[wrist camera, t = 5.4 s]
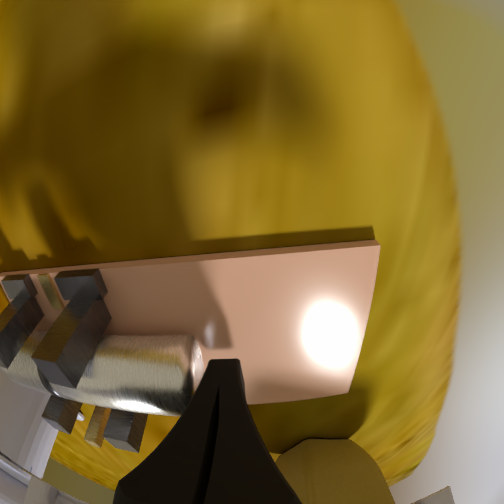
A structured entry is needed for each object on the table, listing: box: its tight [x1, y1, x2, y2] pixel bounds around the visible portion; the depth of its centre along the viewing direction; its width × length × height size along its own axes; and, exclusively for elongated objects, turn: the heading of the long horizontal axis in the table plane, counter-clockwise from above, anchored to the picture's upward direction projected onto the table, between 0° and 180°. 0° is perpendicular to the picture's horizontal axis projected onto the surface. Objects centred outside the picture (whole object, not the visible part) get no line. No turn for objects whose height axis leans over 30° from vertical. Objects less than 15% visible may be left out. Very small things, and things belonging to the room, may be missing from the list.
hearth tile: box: [0, 240, 380, 404], centre depth 13 cm, size 20×10×1 cm, turn 95°
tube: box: [2, 330, 204, 416], centre depth 11 cm, size 12×4×4 cm, turn 97°
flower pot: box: [275, 439, 395, 504], centre depth 16 cm, size 9×9×9 cm
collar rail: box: [0, 268, 148, 453], centre depth 11 cm, size 7×10×4 cm
